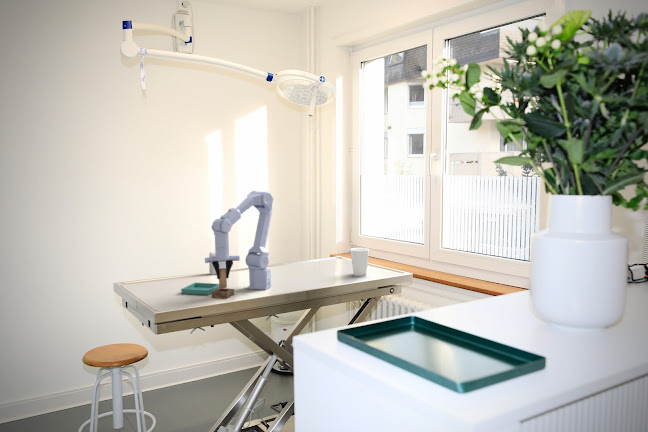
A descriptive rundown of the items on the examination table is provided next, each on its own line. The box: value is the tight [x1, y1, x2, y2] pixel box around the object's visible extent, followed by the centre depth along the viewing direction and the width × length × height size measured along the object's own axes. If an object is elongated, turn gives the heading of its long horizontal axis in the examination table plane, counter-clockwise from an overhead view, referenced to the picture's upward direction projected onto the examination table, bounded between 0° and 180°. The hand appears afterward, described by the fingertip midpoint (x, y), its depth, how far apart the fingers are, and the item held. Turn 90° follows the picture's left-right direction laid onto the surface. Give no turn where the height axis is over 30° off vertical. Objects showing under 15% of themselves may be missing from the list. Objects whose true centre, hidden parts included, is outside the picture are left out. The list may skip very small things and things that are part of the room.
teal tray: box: [180, 282, 219, 296], centre depth 246 cm, size 13×13×2 cm
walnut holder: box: [211, 287, 235, 299], centre depth 237 cm, size 7×7×2 cm
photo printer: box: [208, 250, 226, 276], centre depth 283 cm, size 10×4×12 cm, turn 123°
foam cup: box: [350, 247, 370, 277], centre depth 279 cm, size 10×9×13 cm
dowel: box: [218, 268, 228, 289], centre depth 236 cm, size 3×3×8 cm
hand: (222, 278), depth 236 cm, fingers closed on dowel, 3 cm apart
